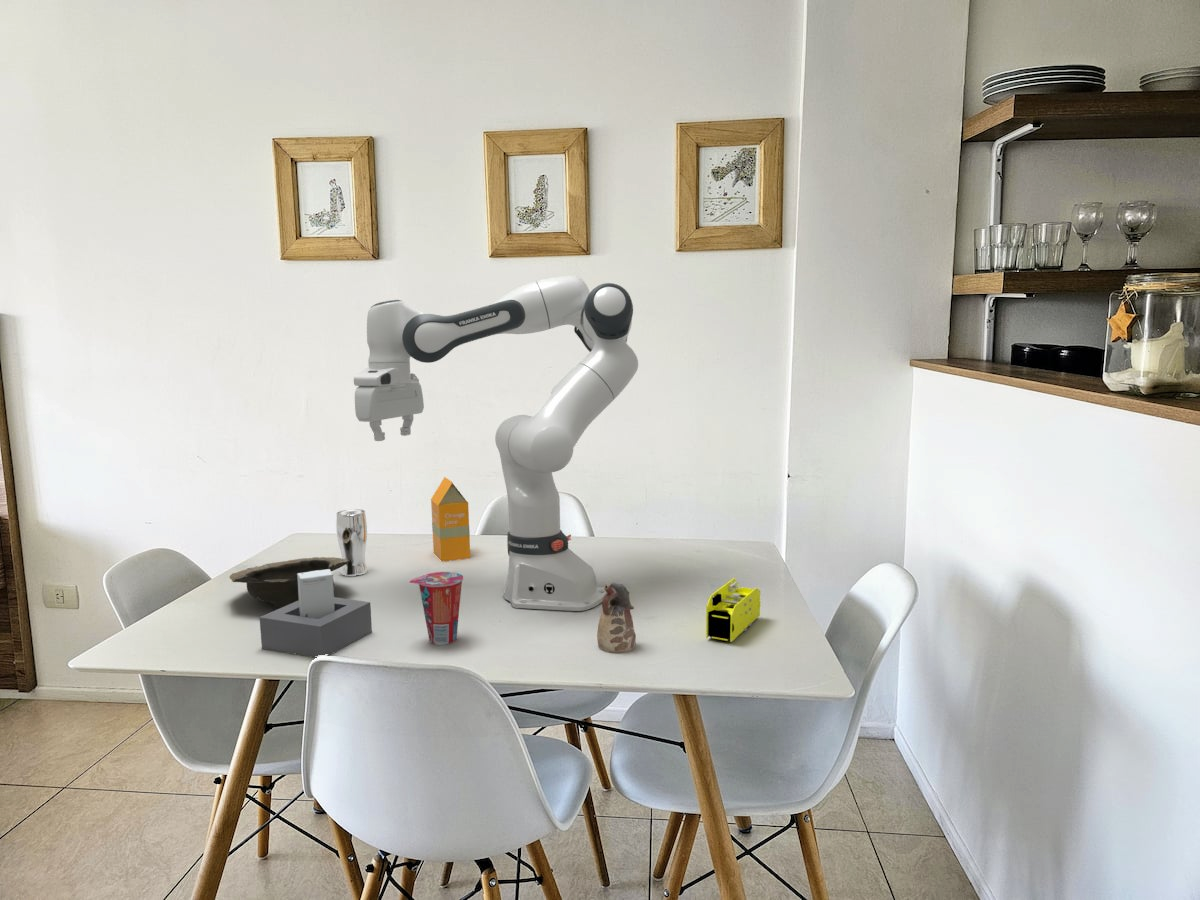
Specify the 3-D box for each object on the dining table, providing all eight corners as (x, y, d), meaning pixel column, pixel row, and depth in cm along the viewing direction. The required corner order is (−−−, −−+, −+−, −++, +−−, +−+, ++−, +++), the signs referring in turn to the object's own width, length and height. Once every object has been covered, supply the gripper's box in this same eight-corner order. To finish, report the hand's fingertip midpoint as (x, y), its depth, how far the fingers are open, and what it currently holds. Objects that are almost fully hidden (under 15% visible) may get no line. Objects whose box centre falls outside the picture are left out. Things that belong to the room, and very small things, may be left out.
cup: (450, 628, 162) (447, 568, 160) (474, 639, 156) (471, 578, 154) (407, 640, 156) (404, 578, 154) (430, 653, 150) (427, 589, 148)
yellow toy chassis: (734, 614, 168) (734, 575, 167) (761, 619, 165) (761, 578, 164) (703, 641, 154) (703, 598, 153) (732, 646, 151) (733, 602, 150)
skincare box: (303, 641, 154) (298, 578, 152) (300, 633, 158) (296, 572, 156) (337, 635, 156) (333, 574, 155) (333, 628, 160) (329, 568, 158)
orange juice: (462, 550, 219) (459, 475, 217) (470, 558, 211) (468, 481, 209) (432, 553, 216) (429, 478, 213) (440, 562, 208) (437, 483, 205)
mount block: (371, 632, 161) (370, 602, 160) (322, 658, 148) (320, 626, 147) (314, 623, 166) (312, 594, 165) (261, 648, 153) (259, 617, 152)
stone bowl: (307, 621, 167) (300, 576, 165) (206, 619, 174) (199, 576, 173) (374, 582, 190) (369, 543, 189) (283, 582, 198) (277, 545, 196)
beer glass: (364, 577, 196) (360, 515, 194) (335, 577, 197) (331, 515, 194) (373, 568, 203) (369, 508, 201) (344, 568, 204) (341, 509, 201)
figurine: (644, 647, 151) (643, 583, 149) (611, 656, 147) (610, 591, 145) (621, 635, 157) (621, 574, 155) (590, 643, 153) (588, 581, 151)
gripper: (406, 372, 193) (408, 431, 195) (348, 378, 174) (351, 443, 176) (429, 372, 190) (431, 432, 192) (372, 378, 172) (376, 444, 174)
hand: (393, 437), depth 184 cm, fingers open, 8 cm apart
